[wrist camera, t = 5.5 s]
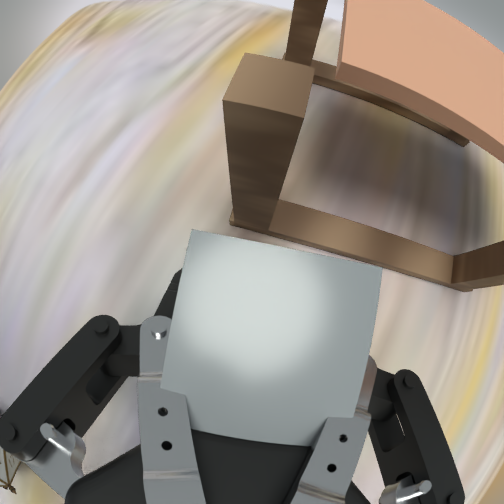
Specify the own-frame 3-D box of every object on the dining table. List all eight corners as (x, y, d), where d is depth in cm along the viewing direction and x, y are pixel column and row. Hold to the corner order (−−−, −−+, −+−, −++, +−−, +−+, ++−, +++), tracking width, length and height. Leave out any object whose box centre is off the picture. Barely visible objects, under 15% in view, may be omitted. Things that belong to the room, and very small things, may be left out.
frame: (230, 224, 17) (204, 50, 5) (283, 60, 20) (304, -70, 7) (464, 292, 17) (606, 266, 4) (461, 131, 20) (539, 55, 7)
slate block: (205, 356, 16) (155, 418, 6) (221, 274, 17) (192, 228, 7) (288, 371, 16) (343, 446, 6) (304, 290, 17) (382, 267, 7)
